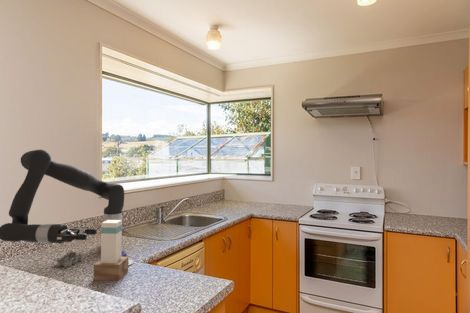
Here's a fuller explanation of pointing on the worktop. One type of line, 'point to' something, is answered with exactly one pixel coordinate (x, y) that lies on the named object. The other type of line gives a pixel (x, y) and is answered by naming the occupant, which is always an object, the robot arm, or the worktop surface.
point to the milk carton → (111, 241)
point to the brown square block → (111, 270)
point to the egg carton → (69, 259)
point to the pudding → (126, 256)
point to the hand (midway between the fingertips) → (91, 234)
